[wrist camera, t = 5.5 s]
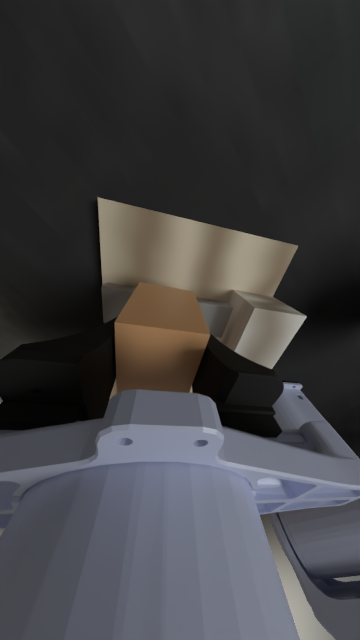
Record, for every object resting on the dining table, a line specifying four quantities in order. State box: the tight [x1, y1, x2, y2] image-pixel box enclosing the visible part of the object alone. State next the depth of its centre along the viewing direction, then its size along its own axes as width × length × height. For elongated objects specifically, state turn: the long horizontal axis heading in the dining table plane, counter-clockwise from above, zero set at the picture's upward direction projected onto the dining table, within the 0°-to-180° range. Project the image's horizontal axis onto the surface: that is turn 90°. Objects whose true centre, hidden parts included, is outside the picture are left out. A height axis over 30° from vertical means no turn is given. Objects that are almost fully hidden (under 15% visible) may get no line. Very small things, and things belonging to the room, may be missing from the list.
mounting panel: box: [98, 198, 307, 399], centre depth 16 cm, size 17×24×6 cm
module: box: [115, 282, 210, 394], centre depth 11 cm, size 4×6×6 cm
